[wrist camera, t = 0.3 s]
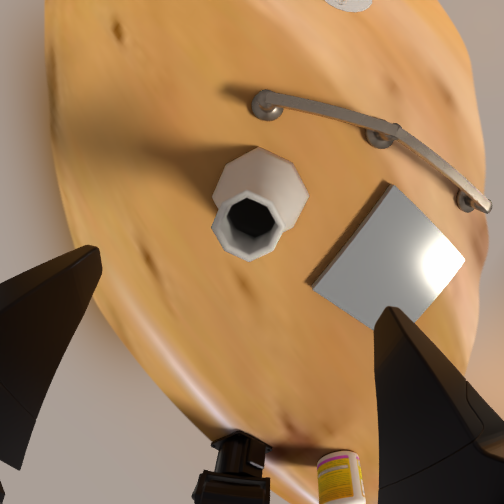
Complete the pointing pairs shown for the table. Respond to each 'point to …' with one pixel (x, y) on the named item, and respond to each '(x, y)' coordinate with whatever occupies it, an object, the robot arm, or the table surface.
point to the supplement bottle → (340, 479)
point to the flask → (256, 203)
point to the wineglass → (350, 4)
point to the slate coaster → (390, 263)
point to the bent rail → (373, 138)
